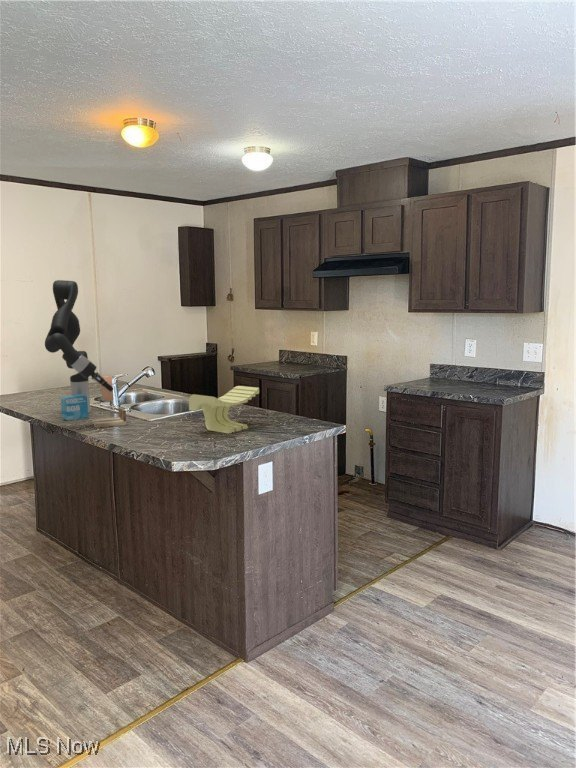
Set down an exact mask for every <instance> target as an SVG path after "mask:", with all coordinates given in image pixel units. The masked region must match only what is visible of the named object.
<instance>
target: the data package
mask: <svg viewBox="0 0 576 768" xmlns="http://www.w3.org/2000/svg"><path fill="white" fill-rule="evenodd" d="M60 408H61V418H62V420H64V421H67V422H70V421H69V420H71V421H76V419H77V420H81V419H82V418H84V419H87V418H88V417H89V413H88V403H87V396H85V395H82V394H80V395H72V396H71V395H66V396H62V397H61V398H60ZM82 420H83V419H82Z"/></svg>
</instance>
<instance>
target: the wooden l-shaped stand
mask: <svg viewBox="0 0 576 768" xmlns="http://www.w3.org/2000/svg"><path fill="white" fill-rule="evenodd" d="M93 424H94V425H93ZM92 425H93V427H95V429H101V428H100V427H104V428H110V427H109V426H113V427H120V426H121V427H122V426H127V412H126V410H125V409H124V408H123V406H118V416H114V417H105V418H104V417H103V418H96V419H92Z"/></svg>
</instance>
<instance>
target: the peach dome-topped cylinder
mask: <svg viewBox="0 0 576 768" xmlns="http://www.w3.org/2000/svg"><path fill="white" fill-rule="evenodd" d="M101 376H102V377H103V378H104V379H105V381H107V382H108V384H109V385H110V386H112V387H113V375H112V374H106V375H105V374H104V375H103V374H102V375H101ZM104 383H105V382H104V381H103V382H102V384H104ZM100 387H101V401H102V402H112V401H114V389H113V390H112V391H111V392H110V391H109V390H108V389H107V388H105V387H103V385H101V384H100ZM113 388H114V387H113Z"/></svg>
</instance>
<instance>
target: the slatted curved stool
mask: <svg viewBox="0 0 576 768" xmlns="http://www.w3.org/2000/svg"><path fill="white" fill-rule="evenodd" d="M259 394H260V387H255V386H246V385H236V386H235V387H233V388H232V389H230V390H229V391H228V392H226V393H224V395H222V396H220V397H215V396H211V395H210V396H209V395H204V394H194V393H193V394H191V395H190V396H189V398H188V411H191V412H197V411H199V410H202V413H203V415H204V422H205V423H204V424H205V427H206V429H207V430H208V431H212V432H218V433H223V434H224V433H225V434H233V433H236V432H239V431H242V430H247V429H249V427H248V424H246V423H240V422H236V421H234V420H232V419H231V418H229V416H228V414H229V410H230V408H231V407H232V406H237V405H241V404H246V403H249V402H248V401H251V400H252V398H255V397H256V395H259ZM232 432H233V433H232Z"/></svg>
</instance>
